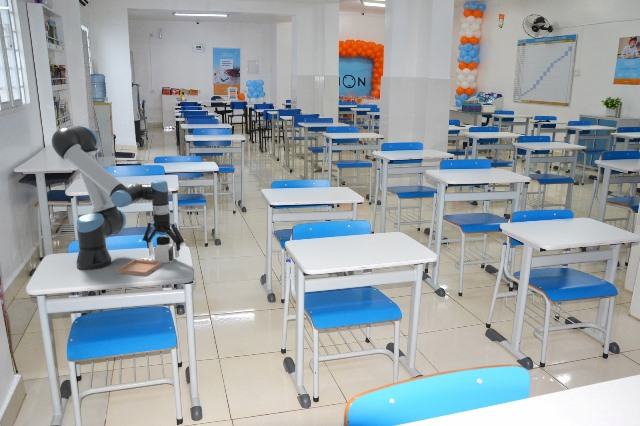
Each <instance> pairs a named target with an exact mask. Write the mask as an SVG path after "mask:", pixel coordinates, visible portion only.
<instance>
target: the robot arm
mask: <svg viewBox="0 0 640 426" xmlns="http://www.w3.org/2000/svg"><path fill="white" fill-rule="evenodd" d="M98 141H99V140H98V136H97V134H96V132H95V131H94V130H93V129H92V128H90V127H89V126H83V125H77V126H72V127H71V126H69V127H62V128H60V129H57V130H56V131H54V133H53V134H52V137H51V144H52V147H53V150H54V152H55V153H56V154H57V155H58V156H59V157H60V158H61V159H62V160H64V162H69V163H70V164H72V165H73V166H75V168H76V169H77V170H79V171H80V176H82V180H83V183H84V185H85V188H86V190H87V193H88V196H89V199H90V202H91V205H92V207H93V208H92V211H91V213H88V214H83V215H81V216H79V217H78V218H77V220H76V231H77V240H78V242H77V243H78V248H79V249H78V254H77V258H76V268H77V269H80V270H85V271H86V270H98V269H99V270H100V269H103V268H106V267H108V266H110V265H111V264H112V256H111V255H110V253H109V250H108V248H107V241H106V239H108V238H109V237H112V236H113V235H117V234H119V233H120V232H121V231H123V229H125V226H126V224H127V220H126V219H127V217H126V215H125V214H124V212H123V211H121V210H120V209H119V208H125V207H128V206H130V205H132V204H135V203H138V202H140V201H151V203H152V204H151V205H152V213H153V214H152V216H153V217H152V218H153V220H152V221H149V222H147V228H146V230H145V233H144V236H143V238H142V241H143V242H146V247H147V249H148V256H149V257H150V256H153V255H154V243H153V238H154V237H155V236H156V234H158V233H164V234H165V233H166V235H167V236H168V237H169V238H170V240H172V241H173V242H174V244H173V248H174V259H177V258H179V257H180V251H181V244H182V243H184V241H185V240H184V239H183V237H182V235H181V232H180V231H179V229H178V226H177V225H178V224H177V223H176V222H174V223H171V215H170V203H169V199H170V198H169V187H168V186H169V185H168V182H167V181H166V180H163V179H156V180H151V182H150V184H145V183H129V185H128V186H126V185H124V184H123V183H122V182H121V181H120V180H118V179H117V178H116V177H115V176H113V174H111V173H110V172H109V171H108V170H106V169H105V168H104V166H102V165H101V164H100V163H98V161H97V157H96V154H97V152H98V151H97V146H98V145H97V144H98ZM153 228H154V230H153V231H152V229H153ZM150 233H151V234H150Z"/></svg>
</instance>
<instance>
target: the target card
mask: <svg viewBox="0 0 640 426" xmlns="http://www.w3.org/2000/svg"><path fill="white" fill-rule="evenodd" d="M153 259H154V258H145V257H144V258H143V257H141V258H139V259H138V260H145V261H153Z"/></svg>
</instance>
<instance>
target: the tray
mask: <svg viewBox="0 0 640 426" xmlns="http://www.w3.org/2000/svg"><path fill="white" fill-rule="evenodd" d="M162 264H163V263H162V262H156V261H155V260H154V261H153V260H152V261H145V260H139V259H133V260H131V261H129V262H128V263H125V264H124V265H122V266H121V267H119V268H117V269H116V273H117V274H124V275H125V274H127V275H137V276H147V275H149V274H150V273H152V272H153V271H155V270H157V269H158V268H160V267H161V266H162Z"/></svg>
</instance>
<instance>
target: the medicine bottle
mask: <svg viewBox="0 0 640 426" xmlns="http://www.w3.org/2000/svg"><path fill="white" fill-rule="evenodd" d="M153 253H154V254H153V255H154V261H156V262H162V264H170V263H171V262H172V261H173V259H175V253H174V244H171V237H170V236H169V235H160V236H158V237H156V246H155V248H154V247H153Z"/></svg>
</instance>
